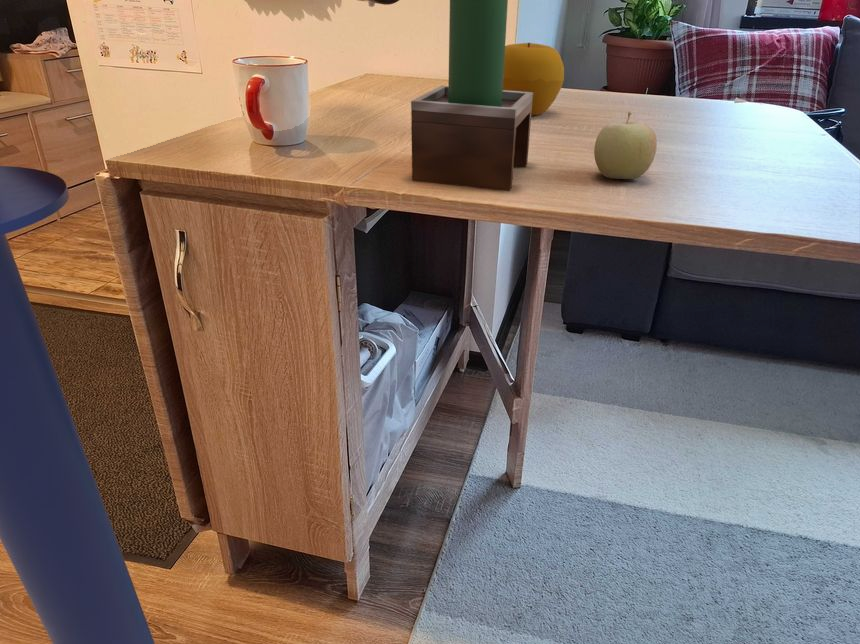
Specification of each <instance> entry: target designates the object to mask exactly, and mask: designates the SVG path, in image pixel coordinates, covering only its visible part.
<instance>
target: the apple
mask: <svg viewBox="0 0 860 644" xmlns="http://www.w3.org/2000/svg"><path fill="white" fill-rule="evenodd" d="M564 80H565V66H564V63H563V60H562V57H561V54H560V53H559V52H558V51H557V49H556V48H555V47H551V46H549V45H546V44H540V43H536V42H535V43H534V42H522V43H511V44H506V45H505V57H504V75H503V90H507V91H520V92H533V100H532V113H531V117H532V116H538V115H539V116H540V115H542V114H544V113H546V112H547V111H548V110H549V108H550V107H551V106H552V104H554V102H555V100H556V99H557V97H558V95H559V93H560V91H561V89H562V88H563V84H564Z"/></svg>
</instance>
